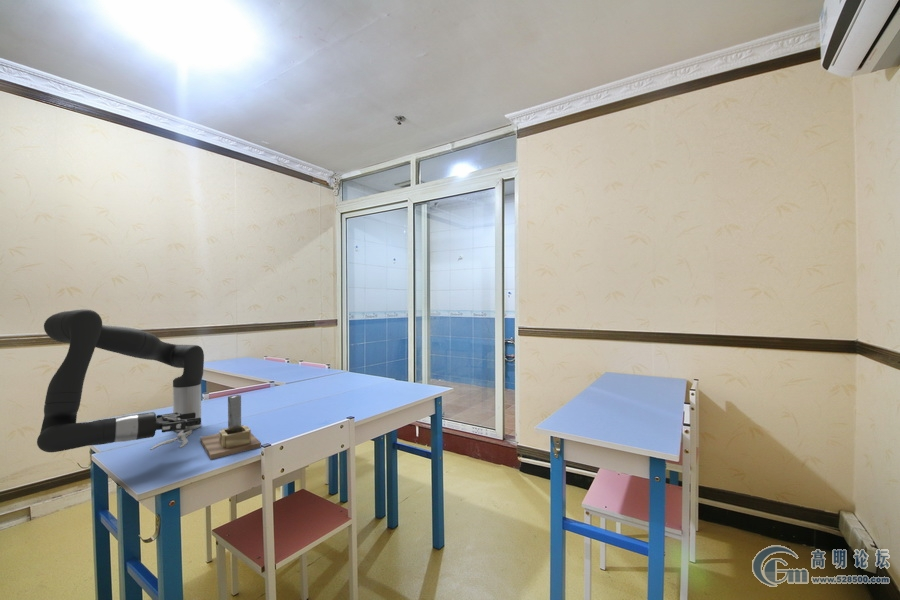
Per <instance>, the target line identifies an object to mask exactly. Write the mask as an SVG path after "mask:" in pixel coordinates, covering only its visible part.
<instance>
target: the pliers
mask: <svg viewBox="0 0 900 600" xmlns="http://www.w3.org/2000/svg"><path fill="white" fill-rule="evenodd" d="M192 434H193V430H189V431H184V430H182V431H181V432H178V433H177V434H176V437H174V438H171V439H167V440H164V441H162V442H159V443H156V445H154V446H152V447H150V451H153V450H155V449H157V448H158V447H160V446H162V444H163V445H167V444H172V443H174V441H177V442H178V443H179V444H181V445H180V446H179V449H182V448H183V447H185V446H186V445H187V444H188V442H189V440H188V438H187V437H188V435H189V436H190V435H192ZM179 438H180V439H179ZM171 442H172V443H171ZM154 448H155V449H154ZM152 449H153V450H152Z"/></svg>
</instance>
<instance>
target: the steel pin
mask: <svg viewBox="0 0 900 600" xmlns="http://www.w3.org/2000/svg"><path fill="white" fill-rule="evenodd" d="M227 425H228V426H227V428H228V434H233V433H237V432H241V425H242V395H241V394H234V395H230V396H227Z"/></svg>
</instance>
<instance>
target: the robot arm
mask: <svg viewBox="0 0 900 600" xmlns="http://www.w3.org/2000/svg"><path fill="white" fill-rule="evenodd" d="M43 323H44V324H43V330H44V332H45V333H46V335H47V336H48V337H49V338H50V339H52V340H54V341H56V342H59V343H64V344H69V347H68V351H67V354H66V356H65V358H64V359H63V361H62V363H61V364H60V366H59V367H58V368H57V371H55V373H54V375H52V377H51V379H50V381H49V383H48V386H47V389H46V393H45V394H46V395H45V400H44V406H43V419H42V424H41V428H40V433H39V434H38V437H37V438H36V445H37V447H38V448H39V450H41V451H42V452H46V453H57V452H58V453H59V452H63V451H69V450H73V449H78V448H79V449H80V448H83V447H84V448H85V447H87V446H101V445H107V444H112V443H113V444H114V443H122V442H131V441H136V440H144V439H150V438H153V437H155V436H156V431H157V430H158V431H159V430H161V433H168V432H178V433H179V432H181V431H182V430H184V432H188V431H190V430H192V431H193V430H197V429H199V428H200V427H201V426H202V379H203V376H204V367H205V366H204V365H205V364H204V363H205V353H204V350H203V348H202V347H201V346H200V345H197V344H175V343H174V344H173V343H170V342H164V341H162V340H161V339H160V338H159V337H158V336H156V335H155V334H154V333H151V332H147V331H144V330H141V329H138V328H134V327H126V326H125V327H124V326H118V325H117V326H116V325H104V324H103V320H102V317H101V316H100V314H98V312H96V311H95V310H92V309H88V308H87V309H84V308H83V309H74V310H67V311H65V310H64V311H61V312H58V313H55V314H52V315H51V316H49V317H48V318H46V319H45V321H44V322H43ZM95 348H98V349H101V350H105V351H108V352H112V353H117V354H118V355H122V356H123V355H124V356H127V357H132V358H137V359H142V360H150V361H157V362H159V363H162V364H165V365H167V366H170V367H173V368H178V369H183V371H182V375H181V376H177V377H175V378H174V379H172V412H171V413H165V414H156V413H155V412H154V411H153V412H143V413H138V414H137V413H136V414H128V415H123V416H119V417H118V416H117V417H112V418H111V417H110V418H104V419H97V420H94V421H87V422H86V421H85V422H77V418H78V411H79V409H80V405H81V401H82V395H83V388H84V382H85V378H86V374H87V372H88V368H89V365H90V363H91V360H92V357H93V355H94V352H95V350H96V349H95Z"/></svg>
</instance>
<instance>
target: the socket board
mask: <svg viewBox="0 0 900 600" xmlns="http://www.w3.org/2000/svg"><path fill="white" fill-rule="evenodd" d="M199 438H200V440H199V442H200V443H202V444H201V445H202V447H203V449H204V448H205V449H204V450H206V451H205V452H206V454H207V456H208V455H209V456H208V458H209V459H210V460H214V459H218V458H222V457H226V456H230V454H231V455H233V454H234V453H235V454H239V453H242V451H243V452H247V451H250V450H254V449H259V448H261V447H262V442H261V441H260V440H259V439H258V438H257V437H256V436H255V435H254V434H253V432H252V430H251V428H250V427H249V426H248V425H244V424H241V432H237V433H233V434H228V427H227V428H222V429H220V430H219V431H218V433H214V434H209V435H205V436H201V437H199ZM260 446H261V447H260ZM213 458H214V459H213Z"/></svg>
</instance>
